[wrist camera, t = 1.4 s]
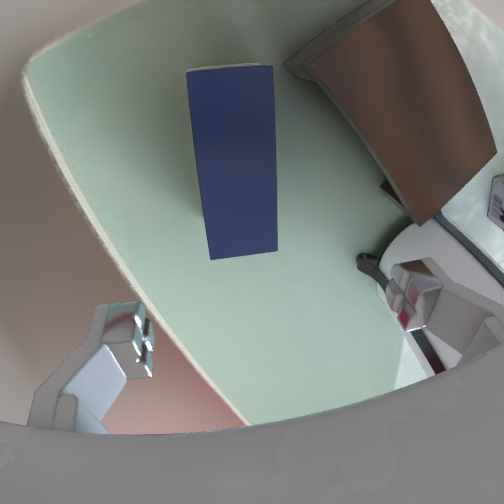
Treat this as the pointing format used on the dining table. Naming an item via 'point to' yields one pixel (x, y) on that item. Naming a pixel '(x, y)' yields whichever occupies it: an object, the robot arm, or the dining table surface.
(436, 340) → the coffee press
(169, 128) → the dining table surface
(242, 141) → the navy block white base
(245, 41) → the dining table surface
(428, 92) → the shelf
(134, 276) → the dining table surface
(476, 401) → the robot arm
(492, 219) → the coffee box
